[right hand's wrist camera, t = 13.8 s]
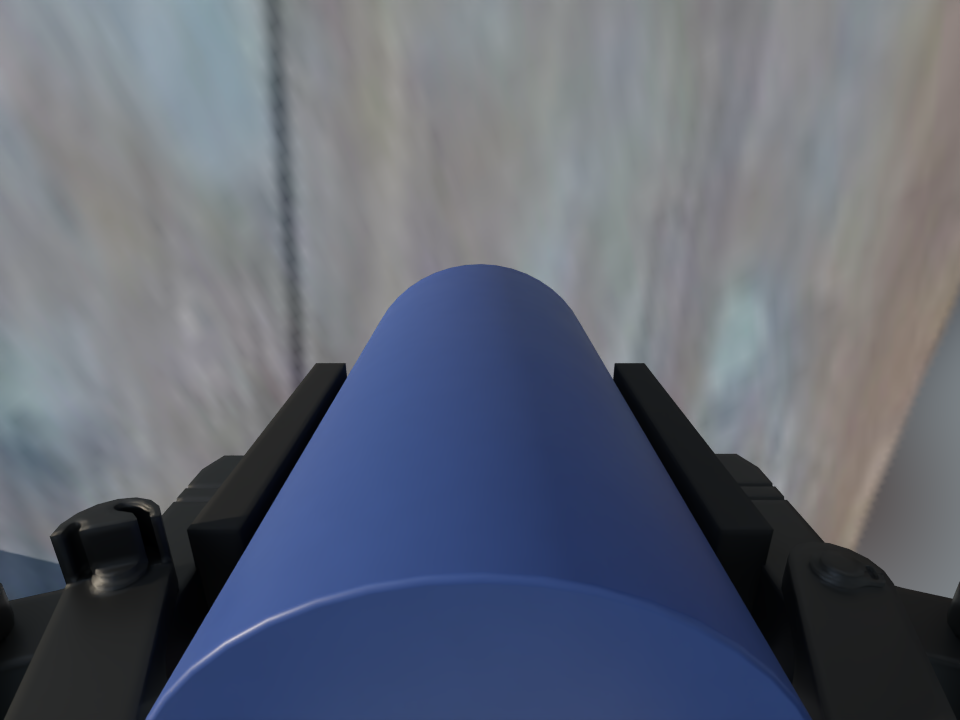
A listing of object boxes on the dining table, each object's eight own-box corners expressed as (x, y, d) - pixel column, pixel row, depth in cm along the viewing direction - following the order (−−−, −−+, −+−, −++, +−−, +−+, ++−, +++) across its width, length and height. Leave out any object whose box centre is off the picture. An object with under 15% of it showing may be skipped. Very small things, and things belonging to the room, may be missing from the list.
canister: (332, 408, 17) (37, 921, 6) (436, 218, 15) (299, 428, 4) (515, 500, 19) (572, 1073, 7) (634, 336, 16) (999, 772, 5)
